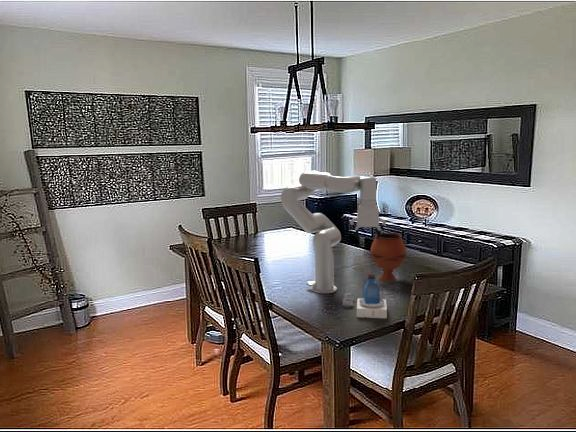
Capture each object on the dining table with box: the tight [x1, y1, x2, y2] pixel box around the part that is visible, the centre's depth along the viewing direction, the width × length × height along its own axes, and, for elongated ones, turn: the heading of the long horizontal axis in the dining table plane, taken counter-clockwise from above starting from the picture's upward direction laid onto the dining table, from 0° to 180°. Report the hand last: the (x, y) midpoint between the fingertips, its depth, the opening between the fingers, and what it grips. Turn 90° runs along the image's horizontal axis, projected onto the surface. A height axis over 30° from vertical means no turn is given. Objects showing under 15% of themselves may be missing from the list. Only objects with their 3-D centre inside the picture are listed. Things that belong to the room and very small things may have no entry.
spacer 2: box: [342, 298, 354, 308], centre depth 221 cm, size 5×5×3 cm
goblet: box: [369, 232, 407, 282], centre depth 258 cm, size 19×19×25 cm
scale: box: [356, 297, 388, 319], centre depth 212 cm, size 13×14×4 cm
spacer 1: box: [342, 292, 355, 302], centre depth 228 cm, size 5×5×3 cm
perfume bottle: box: [362, 274, 381, 304], centre depth 211 cm, size 6×6×12 cm
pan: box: [359, 297, 384, 307], centre depth 212 cm, size 11×11×1 cm
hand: (367, 238), depth 225 cm, fingers open, 9 cm apart
